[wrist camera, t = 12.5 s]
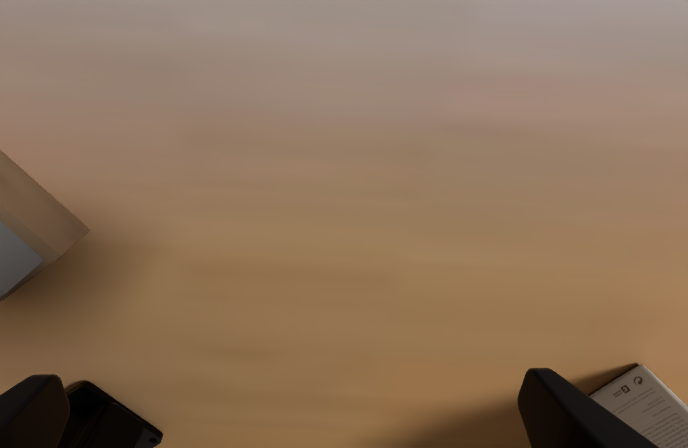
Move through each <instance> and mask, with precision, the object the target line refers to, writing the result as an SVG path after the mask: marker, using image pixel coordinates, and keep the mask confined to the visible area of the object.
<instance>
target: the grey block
mask: <svg viewBox="0 0 688 448" xmlns="http://www.w3.org/2000/svg"><path fill="white" fill-rule="evenodd" d="M43 261H44V260H43V259H42V258H41V257H40V256H39V255H38V254H37V253H35V252H34V251H33V250H32V249H31V248H30V247H29V246H28V245H27V244H26V243H24V242H23V241H22V240H21V239H20V238H19V237H18V236H17V235H16V234H15V233H13V232H12V231H11V230H10V229H9V228H8V227H7V226H6V225H5V224H4V223H2V222H1V221H0V297H1V296H2V295H4V294H6V293H7V292H8V291H9V290H10V289H11V288H13V287H14V286H15V285H16V284H17V283H18V282H19V281H21V280H22V279H23V278H24V277H25V276H26V275H28V274H29V273H30V272H31V271H32V270H33V269H35V268H36V267H37V266H38V265H39V264H40V263H41V262H43Z"/></svg>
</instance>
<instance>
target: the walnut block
mask: <svg viewBox="0 0 688 448" xmlns="http://www.w3.org/2000/svg"><path fill="white" fill-rule="evenodd" d="M0 221H1V222H2V223H4V224H5V225H6V226H7V227H8V228H9V229H10V230H11V231H12V232H13V233H15V234H16V235H17V236H18V237H19V238H20V239H21V240H22V241H23V242H24V243H26V244H27V245H28V246H29V247H30V248H31V249H32V250H33V251H34V252H35V253H37V254H38V255H39V256H40V257H41V258H42V259H43V260H44V261H43V262H41V263H40V264H39V265H38V266H37V267H36V268H35V269H33V270H32V271H31V272H30V273H29V274H28V275H26V276H25V277H24V278H23V279H22V280H21V281H19V282H18V283H17V284H16V285H15V286H14V287H13V288H11V289H10V290H9V291H8V292H7V293H6V294H4V295H2V296H1V297H0V301H2V300H3V299H4V298H6V297H7V296H8V295H10V294H11V293H12V292H14V291H15V290H17V289H18V288H19V287H21V286H22V285H23V284H25V283H26V282H27V281H29V280H30V279H31V278H33V277H34V276H35V275H37V274H38V273H39V272H41V271H42V270H43V269H45V268H46V267H47V266H49V265H50V264H51V263H53V262H54V261H55V260H57V259H58V258H59V257H61V256H62V255H63V254H64V253H65V252H66V251H68V250H69V249H70V248H71V247H72V246H73V245H74V244H75V243H76V242H77V241H79V240H80V239H81V238H82V237H83V236H84V235H85V234H86V233H87V232H89V231H90V229H89V228H88V227H87V226H85V225H84V224H83V223H82V222H81V221H80V220H79V219H78V218H76V217H75V216H74V215H73V214H72V213H71V212H70V211H69V210H67V209H66V208H65V207H64V206H63V205H62V204H61V203H60V202H58V201H57V200H56V199H55V198H54V197H53V196H52V195H51V194H49V193H48V192H47V191H46V190H45V189H44V188H43V187H42V186H40V185H39V184H38V183H37V182H36V181H35V180H34V179H33V178H31V177H30V176H29V175H28V174H27V173H26V172H25V171H24V170H22V169H21V168H20V167H19V166H18V165H17V164H16V163H15V162H13V161H12V160H11V159H10V158H9V157H8V156H7V155H6V154H4V153H3V152H2V151H1V150H0Z"/></svg>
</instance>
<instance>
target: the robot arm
mask: <svg viewBox="0 0 688 448" xmlns="http://www.w3.org/2000/svg"><path fill="white" fill-rule="evenodd" d="M518 407H519V411H520V414H521V417H522V420H523V423H524V426H525V429H526V432H527V435H528V438H529V441H530V444H531V447H532V448H659V447H658V446H657V445H655V444H654V443H652V442H651V441H650V440H648V439H647V438H646V437H644V436H643V435H641V434H640V433H639V432H637V431H636V430H635V429H633V428H632V427H630V426H629V425H628V424H626V423H625V422H623V421H622V420H621V419H619V418H618V417H617V416H615V415H614V414H612V413H611V412H610V411H608V410H607V409H606V408H604V407H603V406H601V405H600V404H599V403H597V402H596V401H595V400H593V399H592V398H590V397H589V396H588V395H586V394H585V393H583V392H582V391H581V390H579V389H578V388H577V387H575V386H574V385H572V384H571V383H570V382H568V381H567V380H566V379H564V378H563V377H561V376H560V375H559V374H557V373H556V372H555V371H553V370H551V369H549V368H530V369H529V370H528V371H527V372H526V374H525V377H524V380H523V383H522V386H521V389H520V392H519V395H518ZM162 437H163V433H162V432H161V431H159V430H158V429H156V428H155V427H153V426H152V425H151V424H149V423H148V422H146V421H145V420H143V419H142V418H141V417H139V416H138V415H136V414H135V413H133V412H132V411H131V410H129V409H128V408H126V407H125V406H123V405H122V404H121V403H119V402H118V401H116V400H115V399H113V398H112V397H111V396H109V395H108V394H106V393H105V392H103V391H102V390H101V389H99V388H98V387H96V386H95V385H93V384H91V383H88V382H84V383H81V384H80V385H78V386H77V387H75V388H73V389H72V390H70V391H69V392H67V393H65V390H64V387H63V384H62V381H61V379H60V378H59V377H58V376H57V375H54V374H51V375H32V376H30V377H28V378H26V379H25V380H23V381H22V382H20V383H18V384H17V385H15V386H14V387H12V388H11V389H9V390H8V391H6V392H5V393H3V394H1V395H0V448H153V447H155V446H157V445H158V444H160V443H161V440H162Z"/></svg>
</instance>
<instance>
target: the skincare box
mask: <svg viewBox="0 0 688 448" xmlns="http://www.w3.org/2000/svg"><path fill="white" fill-rule="evenodd" d="M589 397H590V398H592V399H593V400H595V401H596V402H597V403H599V404H600V405H601V406H603V407H604V408H606V409H607V410H608V411H610V412H611V413H612V414H614V415H615V416H617V417H618V418H619V419H621V420H622V421H623V422H625V423H626V424H628V425H629V426H630V427H632V428H633V429H635V430H636V431H637V432H639V433H640V434H641V435H643V436H644V437H646V438H647V439H648V440H650V441H651V442H652V443H654V444H655V445H657V446H658V447H659V448H688V406H687V405H686V404H684V403H683V402H682V401H681V400H680V399H679V398H678V397H677V396H676V395H675V394H674V393H673V392H672V391H671V390H670V389H669V388H668V387H667V386H666V385H665V384H664V383H663V382H662V381H661V380H659V379H658V378H657V377H656V376H655V375H654V374H653V373H652V372H651V371H650V370H649V369H648V368H646V367H645V366H644V365H639V366H637V367H635V368H633V369H632V370H630V371H628V372H627V373H625V374H623V375H622V376H620V377H619V378H617V379H615V380H614V381H612V382H611V383H609V384H608V385H606V386H604V387H603V388H601V389H600V390H598V391H597V392H595V393H594V394H592V395H591V396H589Z"/></svg>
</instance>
